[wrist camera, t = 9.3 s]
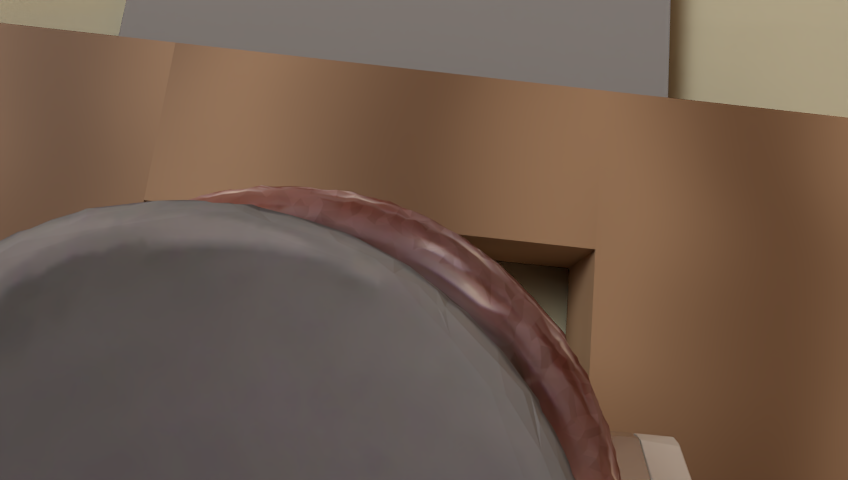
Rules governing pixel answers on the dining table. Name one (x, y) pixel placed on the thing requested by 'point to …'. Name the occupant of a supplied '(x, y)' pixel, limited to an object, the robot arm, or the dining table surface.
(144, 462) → the supplement bottle
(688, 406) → the walnut dock board
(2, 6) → the dining table surface
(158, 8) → the slate-grey rubber mat
